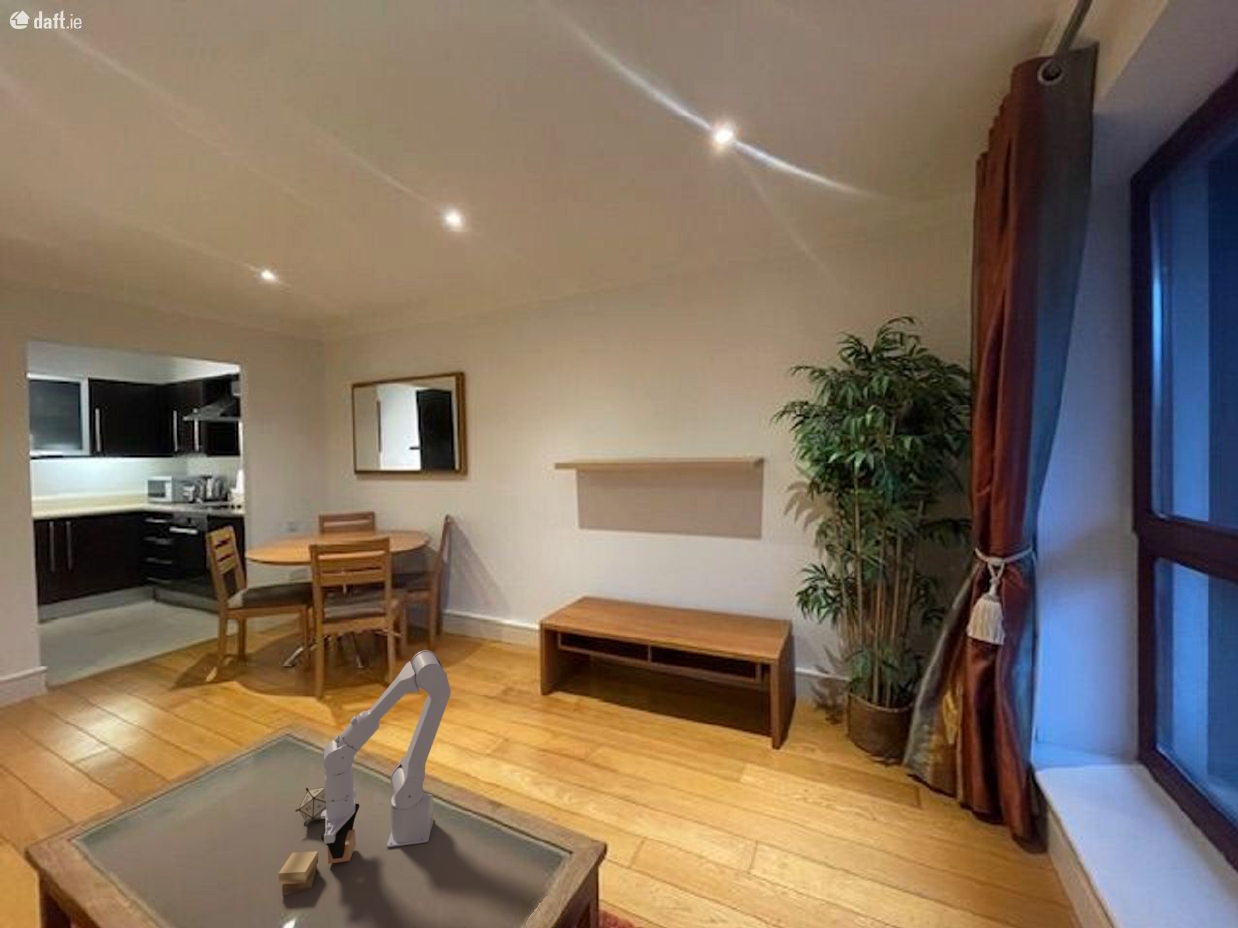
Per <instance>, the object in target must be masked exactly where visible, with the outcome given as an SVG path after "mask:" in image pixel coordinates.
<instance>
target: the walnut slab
mask: <svg viewBox="0 0 1238 928" xmlns="http://www.w3.org/2000/svg"><path fill="white" fill-rule="evenodd" d="M317 867H318V864H317V865H316V867H315V868H314V870H313V871H312V873H311V875H310V876H309V878H308V880H307V881H306V883H295V884H282V886H281V888H282V889H281V891H282V896H287V895H291V894H294V893H298V892H302V891H305V890H309V889H312V888H313V885H314V881H315V877H316V874H317V873H316V872H317Z"/></svg>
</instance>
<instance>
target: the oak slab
mask: <svg viewBox="0 0 1238 928" xmlns="http://www.w3.org/2000/svg"><path fill="white" fill-rule="evenodd" d="M318 864H319V851H302V852H301V851H300V852H292V853H291V854H290V856H289V857H288V859H287V860H286V862H285V863H284V865H283V866H282V867H281V869H280V870H279V871H278V885H283V884H295V883H306V881H307V880H308V878H309V876H310V875H311V873H312V871H313V870H314V868H315V867H316V865H317V866H318Z"/></svg>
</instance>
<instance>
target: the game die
mask: <svg viewBox="0 0 1238 928" xmlns="http://www.w3.org/2000/svg"><path fill="white" fill-rule="evenodd" d="M305 791H306V793H305V794H304V797H303V798H302V801H301V803H300V806H299V808H297V809H295V810H294V812H297V813H298V812H299V813H300V815H301V816H302V818H303V819H304V821H303V822H304V823H303V826H305V825H306V824H307V823H308V822H313V821H317V820H322V819H321V814H322V812H323V811H324V810H326V794H325V786H322V787H318V788H313V789H311V788H310V789H309V788H308V787H305Z"/></svg>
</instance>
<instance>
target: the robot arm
mask: <svg viewBox="0 0 1238 928" xmlns="http://www.w3.org/2000/svg"><path fill="white" fill-rule="evenodd" d="M419 688H420V689H421V690H423V691H424V692H426V693H427V696H426V698H425V702H424V704H423V707H422V710H421V713H420V716H419V718H418V721H417V724H416V726H415V728H414V731H413V735H412V737H411V741H410V743H409V746H408V749H407V751H406V754H405V755H404V756H402V757H401V758H400V761H399V763H398V764H397V766H395V768H394V769H393V770H392V772H391V775H390V783H391V785H392V789H393V794H392V797H391V800H390V806H391V808H390V809H391V811H390V812H391V813H390V814H391V815H390V816H391V831H390V835H389V837H388V840H387V843H386V847H387V848H392V847H400V846H407V845H409V846H410V845H417V844H423V843H428V842H429V839H430V836H431V831H432V828H433V826H434V825H433V824H434V820H433V819H434V817H435V816H434V796H433V794H431V793H425V792H424V788H423V787H424V786H423V785H424V781H425V777H426V764H427V760H428V757H429V755H430V752H431V751H432V750H431V749H432V746H433V744H434V741H435V738H436V735H437V733H438V730H439V726H440V724H441V721H442V719H443V715H444V713H445V711H446V708H447V705H448V702H449V700H450V697H451V693H452V691H451V687H450V683H449V679H448V674H447V672H446V670H445V668H444V667H443V665H442V662H441V660H440V659H439V658H438V656H437V655H436V654H435V653H434V651H431V650H428V649H425V650H421V651H418V652H417V653H415V654H414V656H413V657H412V659H411V660H410V661H407V662H406V664H404V666H403V668H402V669H401V670H400V672H399V674H398V675H396V678H395V679H394V680H393V681H392V682H391V683H390V684H389V686H388V687H387V688H386V690H384V692H383V693H382V694H381V696H380V697H379V698H378V699H377V700H376V701H375V703H374V704H373V705H372V706H371V707H370V708H369V709H368V710H363V711H361V712H360V713H358V714H357V715H353V716H352V718H351V719H350V723H349V724H348V725H347V726H346V728H345V729H343V731H342V732H341V733H340V734H339V735H336V736H335V737H334V739H332V740H331V741H329V742H328V743H327V745H326V746H325V748H324V749H323V752H322V754H323V766H324V784H325V785H324V787H325V794H326V810H324V811H323V812H322V814H321V819H320V820H322V819H323V820H324V819H325V828H323V830H322V832H321V834H320V838H321V839H320V840H321V841H322V842H323V844H326V846H327V847H328V848H329V850H330V853H331V855H332V858H333V859H338V858H342V857H343V855H344V851H345V842H346V837H347V834H348V832H349V830H354V829H353V828H354V824H355V819H356V817H357V813H358V812H359V810H360V804H359V803H356V801H355V798H356V788H354V770H353V767H352V765H353V763H354V759H355V756H356V754H357V753H358V752H359V751H360V750H361V749H362V748H363V747H364V746H365V744H366V743H367V742H368V741H369V740H370V739H371V738H372V737H373V736H374V734H375V733H376V732H377V731H378V730H379V728H380V720H381V719H382V718H383V717H384V716H385V715H386V714H387V713H388V712H389V711H390V710H391V709H392V708H393V707H394V706H395V705H396V704H397V703H398V702H399V701H400V700H401V699H402V698H403V697H404V696H406V694H415V693H416V694H417V693H419V692H420V689H419ZM328 848H327V849H328Z"/></svg>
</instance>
